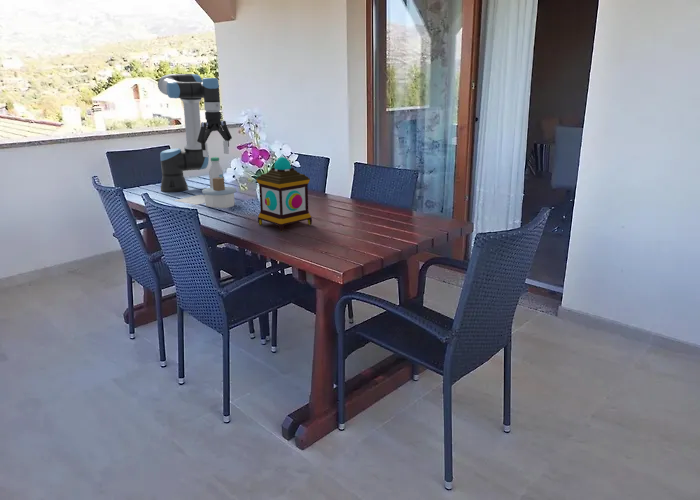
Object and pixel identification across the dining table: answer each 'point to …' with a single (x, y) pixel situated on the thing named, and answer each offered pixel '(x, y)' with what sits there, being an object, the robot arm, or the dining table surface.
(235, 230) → the dining table surface
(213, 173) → the milk bottle
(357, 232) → the dining table surface
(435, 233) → the dining table surface
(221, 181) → the lid
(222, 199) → the bowl
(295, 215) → the decorative lantern
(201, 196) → the mat
